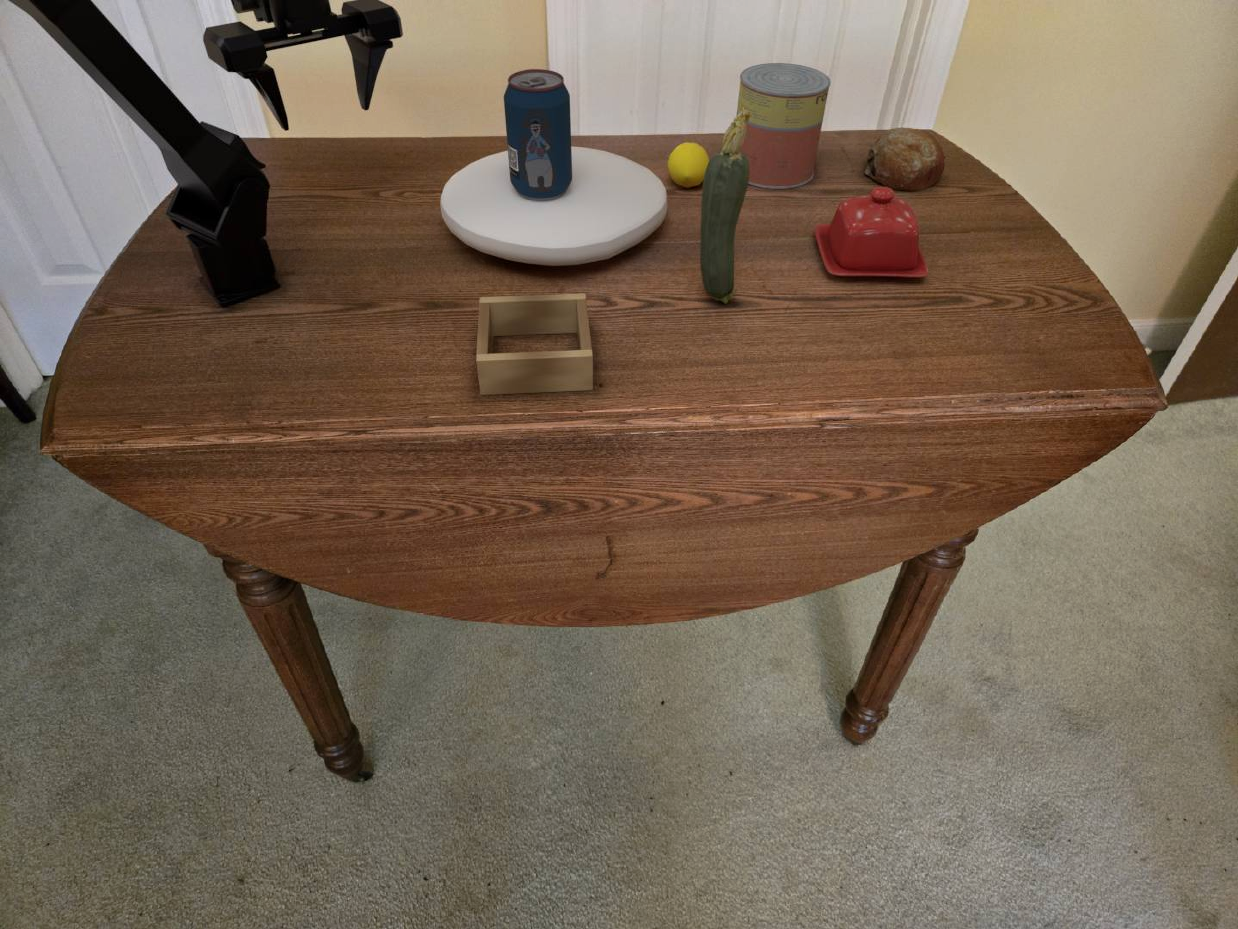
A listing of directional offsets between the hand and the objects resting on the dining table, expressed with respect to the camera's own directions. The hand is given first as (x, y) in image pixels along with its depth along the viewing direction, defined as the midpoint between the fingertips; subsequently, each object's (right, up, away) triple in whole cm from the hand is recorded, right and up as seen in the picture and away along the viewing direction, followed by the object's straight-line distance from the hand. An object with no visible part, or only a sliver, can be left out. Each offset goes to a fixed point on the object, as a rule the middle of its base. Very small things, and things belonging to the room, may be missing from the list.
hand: (326, 118), depth 88 cm
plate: (+24, -8, +11) cm, 28 cm away
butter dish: (+60, -14, +6) cm, 62 cm away
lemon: (+41, -1, +19) cm, 45 cm away
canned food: (+52, +2, +23) cm, 57 cm away
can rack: (+24, -27, -9) cm, 37 cm away
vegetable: (+42, -20, -1) cm, 46 cm away
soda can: (+23, -6, +4) cm, 24 cm away
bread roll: (+70, +2, +22) cm, 74 cm away
